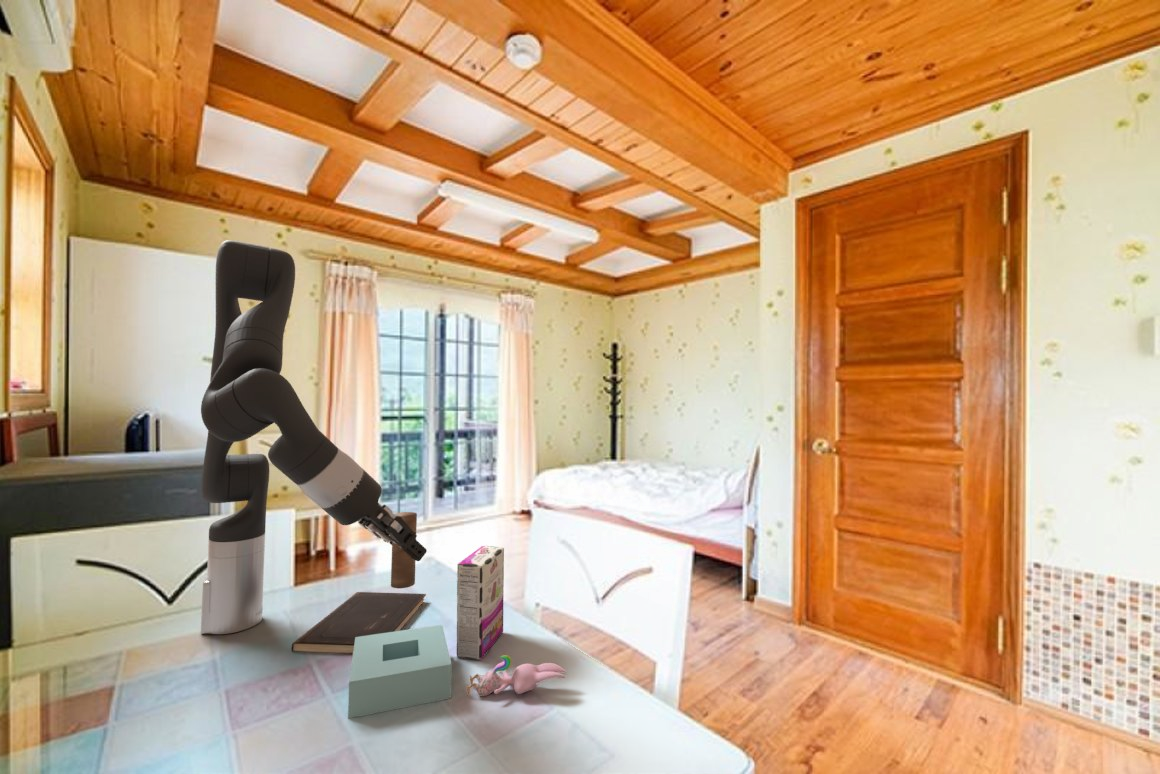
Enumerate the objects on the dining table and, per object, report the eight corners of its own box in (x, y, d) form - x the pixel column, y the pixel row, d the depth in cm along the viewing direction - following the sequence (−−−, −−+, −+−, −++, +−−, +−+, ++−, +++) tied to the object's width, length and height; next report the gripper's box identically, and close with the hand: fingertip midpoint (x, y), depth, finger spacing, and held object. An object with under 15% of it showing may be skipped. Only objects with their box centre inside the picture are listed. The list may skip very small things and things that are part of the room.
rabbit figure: (466, 713, 72) (567, 696, 73) (460, 672, 73) (561, 656, 73) (474, 689, 79) (566, 673, 79) (469, 651, 79) (561, 636, 79)
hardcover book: (425, 604, 109) (425, 593, 109) (380, 657, 86) (380, 644, 86) (354, 602, 110) (354, 591, 110) (290, 654, 87) (291, 641, 87)
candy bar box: (479, 629, 96) (481, 544, 97) (503, 632, 95) (505, 546, 96) (453, 658, 85) (456, 562, 86) (480, 661, 84) (483, 565, 85)
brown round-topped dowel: (390, 589, 76) (393, 517, 76) (390, 581, 79) (392, 512, 80) (415, 586, 77) (417, 516, 78) (414, 579, 80) (416, 511, 81)
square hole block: (347, 718, 69) (349, 681, 69) (354, 667, 82) (355, 637, 82) (450, 698, 74) (451, 664, 74) (441, 653, 87) (442, 624, 87)
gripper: (380, 470, 69) (454, 542, 77) (340, 461, 78) (410, 526, 87) (339, 514, 65) (422, 585, 73) (303, 499, 74) (379, 563, 83)
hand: (415, 552), depth 80 cm, fingers closed on brown round-topped dowel, 3 cm apart
